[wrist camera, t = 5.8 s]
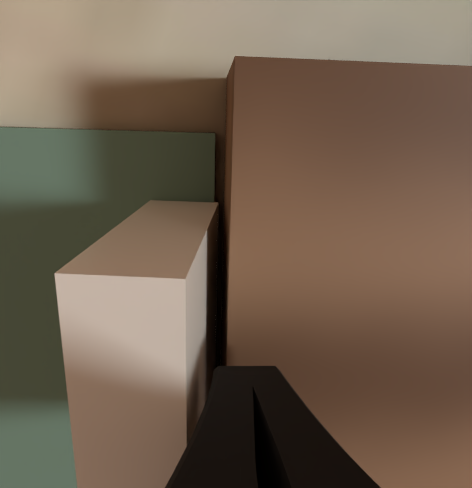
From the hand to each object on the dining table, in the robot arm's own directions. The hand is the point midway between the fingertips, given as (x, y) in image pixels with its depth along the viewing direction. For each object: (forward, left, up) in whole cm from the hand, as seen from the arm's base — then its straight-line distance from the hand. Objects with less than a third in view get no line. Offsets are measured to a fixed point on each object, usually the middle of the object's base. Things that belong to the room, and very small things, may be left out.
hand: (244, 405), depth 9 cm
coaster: (0, +1, -1) cm, 2 cm away
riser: (0, -4, -5) cm, 6 cm away
